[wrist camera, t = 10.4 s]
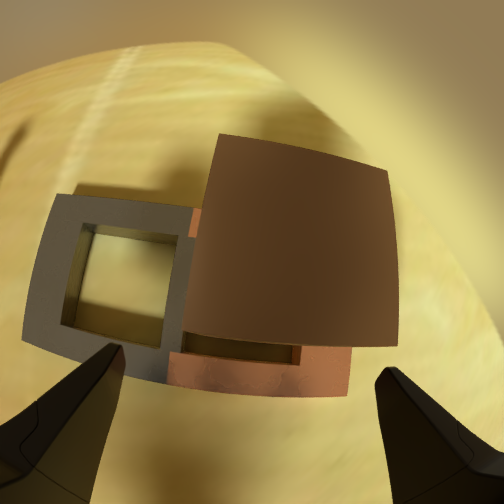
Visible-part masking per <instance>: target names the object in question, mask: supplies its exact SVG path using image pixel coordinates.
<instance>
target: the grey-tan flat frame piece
mask: <svg viewBox="0 0 504 504" xmlns="http://www.w3.org/2000/svg"><path fill="white" fill-rule="evenodd" d="M201 211H202V209H199V208H191V207H183V206H175V205H167V204H159V203H150V202H142V201H132V200H123V199H113V198H103V197H92V196H81V195H69V194H57V195H56V197H55V200H54V202H53V205H52V208H51V211H50V213H49V216H48V219H47V222H46V225H45V228H44V232H43V235H42V238H41V241H40V245H39V248H38V252H37V256H36V260H35V264H34V268H33V272H32V277H31V281H30V286H29V291H28V296H27V302H26V308H25V315H24V322H23V331H22V340H23V341H25V342H27V343H30V344H32V345H34V346H37V347H39V348H42V349H44V350H47V351H49V352H52V353H55V354H57V355H60V356H63V357H66V358H69V359H71V360H74V361H77V362H80V363H84V362H85V361H86V360H87V359H89V358H90V357H91V356H93V355H94V354H95V353H96V352H98V351H99V350H100V349H102V348H103V347H104V346H105V345H107V344H108V343H110V342H113V343H117V344H121V345H122V346H123V350H124V355H125V360H126V367H125V372H124V375H126V376H130V377H134V378H138V379H143V380H147V381H152V382H157V383H162V384H167V385H172V386H178V387H184V388H190V389H197V390H204V391H212V392H220V393H229V394H240V395H253V396H270V397H341V396H347V392H348V384H349V375H350V365H351V353H352V347H322V346H298V345H293V348H292V358H291V363H281V362H266V361H254V360H244V359H234V358H226V357H217V356H210V355H203V354H196V353H189V352H184V348H185V339H186V331H182V330H181V328H182V321H183V314H184V307H185V300H186V294H187V288H188V281H189V275H190V269H191V264H192V258H193V252H194V247H195V241H196V236H197V231H198V226H199V221H200V216H201ZM94 233H97V234H103V235H110V236H117V237H124V238H131V239H138V240H145V241H152V242H158V243H165V244H172V245H177V246H176V251H175V256H174V261H173V267H172V272H171V278H170V284H169V290H168V296H167V302H166V309H165V315H164V322H163V329H162V337H161V345H160V347H155V346H150V345H145V344H141V343H136V342H131V341H127V340H123V339H118V338H114V337H110V336H106V335H102V334H98V333H95V332H91V331H87V330H84V329H80V328H77V327H74V322H75V315H76V309H77V303H78V297H79V292H80V287H81V282H82V277H83V273H84V268H85V264H86V260H87V256H88V252H89V248H90V244H91V241H92V237H93V234H94Z"/></svg>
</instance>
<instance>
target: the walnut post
mask: <svg viewBox="0 0 504 504" xmlns="http://www.w3.org/2000/svg"><path fill="white" fill-rule="evenodd" d="M398 325H399V278H398V257H397V242H396V231H395V221H394V213H393V205H392V197H391V191H390V184H389V178H388V172H387V171H386V170H383V169H380V168H377V167H373V166H370V165H367V164H363V163H360V162H356V161H353V160H349V159H346V158H342V157H338V156H334V155H330V154H326V153H322V152H318V151H314V150H309V149H305V148H300V147H296V146H291V145H286V144H281V143H276V142H270V141H265V140H259V139H253V138H247V137H241V136H234V135H227V134H219V136H218V140H217V144H216V148H215V152H214V156H213V161H212V165H211V169H210V174H209V178H208V182H207V187H206V192H205V196H204V201H203V206H202V211H201V216H200V221H199V226H198V231H197V236H196V241H195V247H194V252H193V258H192V264H191V269H190V275H189V281H188V288H187V294H186V300H185V307H184V314H183V321H182V328H181V330H182V331H186V332H190V333H195V334H199V335H203V336H209V337H216V338H223V339H231V340H240V341H249V342H258V343H269V344H281V345H298V346H322V347H389V346H398Z"/></svg>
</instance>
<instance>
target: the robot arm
mask: <svg viewBox="0 0 504 504" xmlns="http://www.w3.org/2000/svg"><path fill="white" fill-rule="evenodd" d="M125 367H126V360H125V355H124V350H123V346H122V345H121V344H117V343H113V342H110V343H108V344H107V345H105V346H104V347H103V348H102V349H100V350H99V351H98V352H96V353H95V354H94V355H93V356H91V357H90V358H89V359H87V360H86V361H85V362H84V363H82V364H81V365H80V366H79V367H77V368H76V369H75V370H73V371H72V372H71V373H70V374H68V375H67V376H66V377H65V378H63V379H62V380H61V381H60V382H58V383H57V384H56V385H55V386H53V387H52V388H51V389H50V390H48V391H47V392H46V393H45V394H43V395H42V396H41V397H40V398H38V399H37V401H34V402H33V403H32V404H31V405H30V406H28V407H27V408H26V409H24V410H23V411H22V412H20V413H19V414H18V415H16V416H15V417H13V418H12V419H10V420H9V421H7V422H6V423H4V424H2V425H1V426H0V504H90V499H91V495H92V491H93V487H94V483H95V479H96V475H97V471H98V467H99V464H100V460H101V456H102V453H103V449H104V446H105V443H106V439H107V436H108V433H109V430H110V426H111V423H112V420H113V417H114V414H115V411H116V407H117V404H118V399H119V394H120V389H121V385H122V380H123V376H124V372H125ZM375 393H376V401H377V410H378V418H379V424H380V429H381V434H382V439H383V444H384V449H385V454H386V460H387V466H388V472H389V478H390V485H391V492H392V499H393V504H504V453H503V452H500V451H497V450H496V449H494V448H493V447H491V446H490V445H488V444H487V443H486V442H484V441H483V440H481V439H480V438H479V437H477V436H476V435H475V434H473V433H472V432H471V431H470V430H468V429H467V428H466V427H465V426H464V425H462V424H461V423H460V422H459V421H458V420H456V419H455V418H454V417H453V416H452V415H451V414H450V413H449V412H447V411H446V410H445V409H444V408H443V407H442V406H441V405H439V404H438V403H437V402H436V401H435V400H434V399H433V398H431V397H430V396H429V395H428V394H427V393H426V392H424V391H423V390H422V389H421V388H420V387H419V386H418V385H416V384H415V383H414V382H413V381H412V380H411V379H409V378H408V377H407V376H406V375H405V374H404V373H402V372H401V371H400V370H399V369H398V368H397V367H394V366H393V367H386V368H384V369H383V371H382V372H381V374H380V375H379V377H378V378H377V379H376V381H375Z"/></svg>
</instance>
